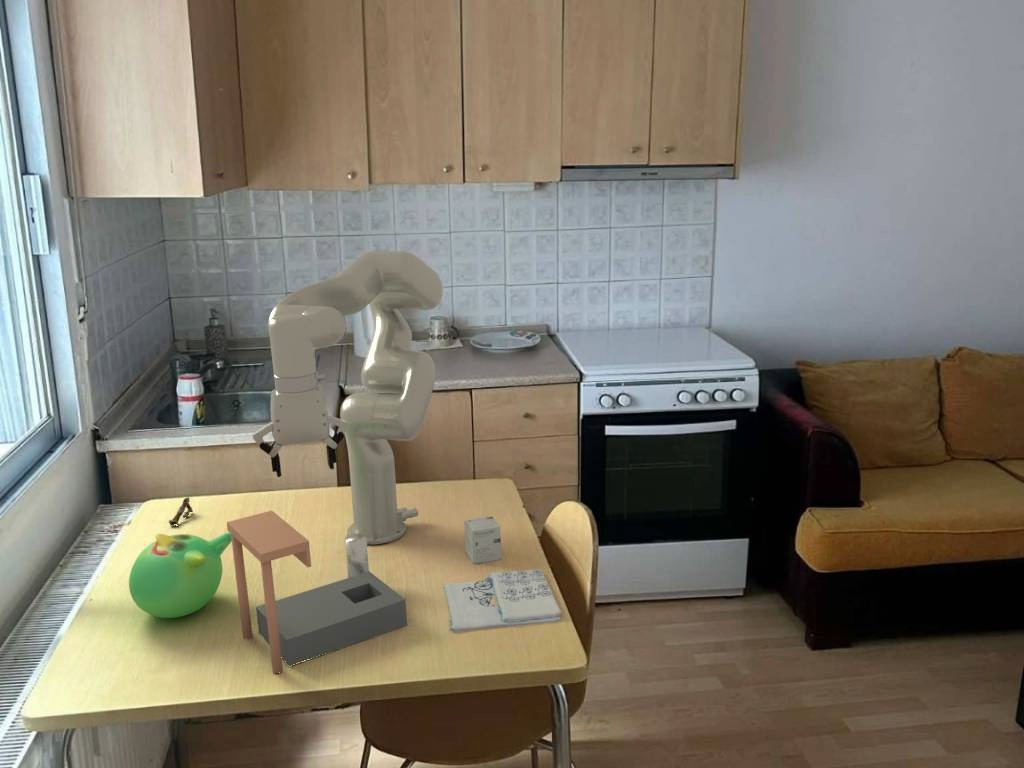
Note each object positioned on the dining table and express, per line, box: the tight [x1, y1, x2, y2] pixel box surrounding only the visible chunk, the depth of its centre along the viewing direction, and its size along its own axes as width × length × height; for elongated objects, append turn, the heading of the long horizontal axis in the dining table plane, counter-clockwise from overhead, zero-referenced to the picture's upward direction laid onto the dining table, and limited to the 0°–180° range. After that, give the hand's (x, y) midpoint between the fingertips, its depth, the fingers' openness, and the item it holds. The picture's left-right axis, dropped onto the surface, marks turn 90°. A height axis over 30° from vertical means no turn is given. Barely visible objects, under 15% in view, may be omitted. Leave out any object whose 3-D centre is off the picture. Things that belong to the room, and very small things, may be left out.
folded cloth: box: [443, 568, 562, 633], centre depth 175 cm, size 19×20×2 cm
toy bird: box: [128, 531, 232, 619], centre depth 174 cm, size 18×17×15 cm
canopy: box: [226, 510, 312, 674], centre depth 159 cm, size 8×16×22 cm, turn 35°
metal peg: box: [344, 534, 370, 578], centre depth 182 cm, size 4×4×10 cm
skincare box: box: [464, 516, 502, 565], centre depth 193 cm, size 6×6×7 cm
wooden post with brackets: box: [168, 496, 194, 526], centre depth 217 cm, size 2×8×4 cm, turn 168°
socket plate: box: [255, 570, 408, 667], centre depth 167 cm, size 22×14×5 cm, turn 125°
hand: (305, 470), depth 177 cm, fingers open, 9 cm apart
